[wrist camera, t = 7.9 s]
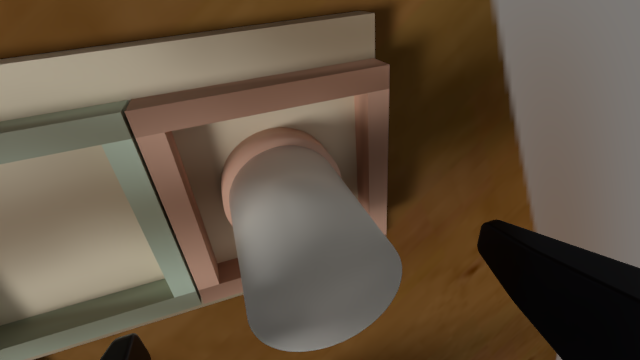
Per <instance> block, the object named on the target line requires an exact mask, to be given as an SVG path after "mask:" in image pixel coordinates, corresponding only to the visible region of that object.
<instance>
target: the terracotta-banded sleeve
mask: <svg viewBox="0 0 640 360" xmlns="http://www.w3.org/2000/svg"><path fill="white" fill-rule="evenodd" d="M221 192H222V200H223V206H224V211H225V214H226V217H227V219H228V220H229V222H230V224H231V225H232V226H233V231H234V237H235V243H236V250H237V256H238V262H239V268H240V274H241V281H242V287H243V293H244V299H245V305H246V312H247V318H248V323H249V325H250V328H251V330H252V331H253V333H254V334H255V336H256V337H257V338H258V339H259V340H260V341H262V342H263V343H265V344H266V345H269V346H271V347H273V348H276V349H279V350H284V351H293V352H303V351H312V350H318V349H322V348H326V347H329V346H333V345H335V344H338V343H340V342H343V341H345V340H347V339H349V338H351V337H353V336H354V335H356V334H358V333H359V332H361V331H362V330H364V329H365V328H367V327H368V326H369V325H370V324H372V323H373V322H374V321H375V320H376V319H377V318H378V317H379V316H380V315H381V314H382V313H383V312H384V311H385V310H386V309H387V307H388V306H389V305H390V303H391V302H392V300H393V298H394V297H395V295H396V293H397V291H398V288H399V285H400V282H401V277H402V265H401V260H400V257H399V255H398V253H397V251H396V250H395V248H394V247H393V245H392V244H391V243H390V242H389V240H388V239H387V238H386V236H385V235H384V234H383V232H382V231H381V230H380V228H379V227H378V226H377V225H376V223H375V222H374V221H373V219H372V218H371V217H370V215H369V214H368V213H367V211H366V210H365V209H364V208H363V206H362V205H361V204H360V202H359V201H358V200H357V198H356V197H355V196H354V194H353V193H352V192H351V191H350V189H349V188H348V187H347V185H346V184H345V183H344V181H343V180H342V179H341V174H340V170H339V168H338V166H337V164H336V162H335V161H334V159H333V158H332V157H331V155H330V154H329V153H328V152H327V150H326V149H325V148H324V147H323V145H322V144H321V143H320V142H319V141H318V140H317V139H315V138H314V137H313V136H311V135H310V134H308V133H306V132H304V131H301V130H298V129H294V128H287V127H278V128H270V129H266V130H262V131H260V132H257V133H255V134H253V135H251V136H249V137H247V138H246V139H245V140H243V141H242V142H241V143H239V144H238V145H237V146H236V147H235V148H234V150H233V151H232V152H231V153H230V155H229V156H228V158H227V159H226V162H225V164H224V166H223V169H222V173H221Z"/></svg>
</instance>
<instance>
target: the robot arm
mask: <svg viewBox="0 0 640 360" xmlns="http://www.w3.org/2000/svg"><path fill="white" fill-rule="evenodd" d="M477 247H478V251H479V253H480V255H481V256H482V257H483V259H484V260H485V262H486V263H487V265H488V266H489V268H490V269H491V270H492V272H493V273H494V275H495V276H496V278H497V279H498V280H499V282H500V283H501V285H502V286H503V288H504V289H505V291H506V292H507V293H508V295H509V296H510V297H511V299H512V300H513V301H514V303H515V304H516V305H517V306H518V308H519V309H520V310H521V311H522V312H523V313H524V315H525V316H526V317H527V318H528V319H529V321H530V322H531V323H532V324H533V325H534V327H535V328H536V329H537V330H538V331H539V332H540V334H541V335H542V336H543V337H544V338H545V340H546V341H547V342H548V343H549V344H550V346H551V347H552V348H553V349H554V350H555V351H556V353H557V354H558V355H559V356H560V357H561V359H562V360H640V268H637V267H635V266H632V265H629V264H626V263H623V262H620V261H617V260H614V259H611V258H608V257H605V256H602V255H600V254H597V253H593V252H590V251H588V250H585V249H582V248H579V247H576V246H573V245H570V244H567V243H565V242H562V241H559V240H556V239H553V238H550V237H547V236H544V235H541V234H538V233H536V232H533V231H530V230H527V229H524V228H521V227H518V226H515V225H512V224H509V223H506V222H503V221H501V220H492V221H489V222H486V223H484V224H483V225H482V226H481V230H480V235H479V239H478V244H477ZM100 360H151V357H150V354H149V352H148V351H147V349H146V348H145V346H144V344H143V343H142V341H141V339H140V338H139V336H138V335H137V334H135V333H132V334H129V335H125V336H122V337H119V338H117V339H115V340H114V341H113V342H112V343H111V344H110V346H109V347H108V349H107V350H106V352H105V353H104V355H103V356H102V357H101V359H100Z"/></svg>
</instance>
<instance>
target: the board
mask: <svg viewBox="0 0 640 360" xmlns="http://www.w3.org/2000/svg"><path fill="white" fill-rule="evenodd" d="M389 82H390V64H387V63H385V62H382V61H380V60H377V59H375V13H372V12H365V11H355V12H348V13H340V14H333V15H325V16H318V17H310V18H303V19H296V20H288V21H281V22H273V23H266V24H258V25H251V26H244V27H236V28H229V29H221V30H214V31H207V32H199V33H192V34H184V35H177V36H169V37H162V38H155V39H147V40H140V41H132V42H125V43H118V44H110V45H103V46H95V47H88V48H80V49H73V50H66V51H58V52H51V53H43V54H36V55H28V56H21V57H14V58H6V59H0V360H34V359H37V358H40V357H43V356H47V355H50V354H53V353H56V352H60V351H63V350H66V349H69V348H72V347H76V346H79V345H82V344H85V343H88V342H92V341H95V340H98V339H101V338H105V337H108V336H111V335H114V334H117V333H121V332H124V331H127V330H130V329H133V328H137V327H140V326H143V325H146V324H150V323H153V322H156V321H159V320H162V319H166V318H169V317H172V316H175V315H178V314H182V313H185V312H188V311H191V310H195V309H198V308H201V307H204V306H207V305H211V304H214V303H217V302H220V301H223V300H227V299H230V298H233V297H236V296H240V295H243V294H244V293H243V287H242V281H241V274H240V268H239V262H238V256H237V250H236V243H235V237H234V231H233V226H232V225H231V224H230V222H229V220H228V219H227V217H226V214H225V211H224V206H223V200H222V192H221V173H222V169H223V166H224V164H225V162H226V159H227V158H228V156H229V155H230V153H231V152H232V151H233V150H234V148H235V147H236V146H237V145H238V144H239V143H241V142H242V141H243V140H245V139H246V138H247V137H249V136H251V135H253V134H255V133H257V132H260V131H262V130H266V129H270V128H278V127H287V128H294V129H298V130H301V131H304V132H306V133H308V134H310V135H311V136H313V137H314V138H315V139H317V140H318V141H319V142H320V143H321V144H322V145H323V147H324V148H325V149H326V150H327V152H328V153H329V154H330V155H331V157H332V158H333V159H334V161H335V162H336V164H337V166H338V168H339V170H340V174H341V179H342V180H343V181H344V183H345V184H346V185H347V187H348V188H349V189H350V191H351V192H352V193H353V194H354V196H355V197H356V198H357V200H358V201H359V202H360V204H361V205H362V206H363V208H364V209H365V210H366V211H367V213H368V214H369V215H370V217H371V218H372V219H373V221H374V222H375V223H376V225H377V226H378V227H379V228H380V230H381V231H382V232H383V234H384V235H385V236H386V229H387V180H388V131H389Z"/></svg>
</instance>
